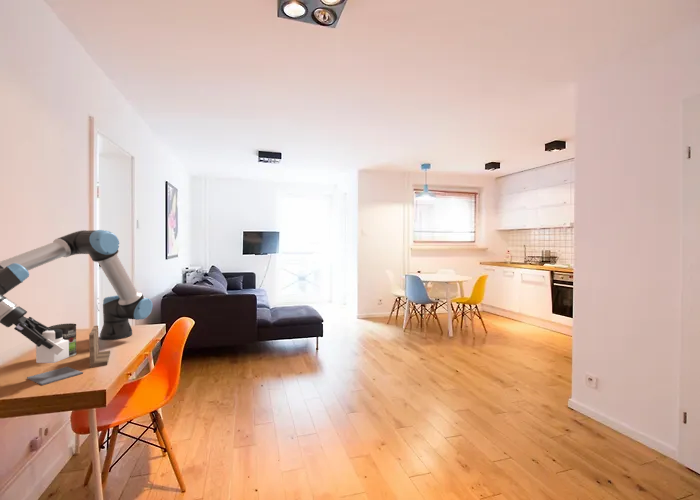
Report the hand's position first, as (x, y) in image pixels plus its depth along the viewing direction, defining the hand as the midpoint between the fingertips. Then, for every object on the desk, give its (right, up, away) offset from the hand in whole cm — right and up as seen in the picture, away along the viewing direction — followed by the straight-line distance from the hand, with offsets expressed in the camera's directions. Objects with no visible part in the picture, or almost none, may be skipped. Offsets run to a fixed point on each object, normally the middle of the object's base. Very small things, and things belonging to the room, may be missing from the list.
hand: (63, 348), depth 138 cm
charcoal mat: (-2, -11, -1) cm, 11 cm away
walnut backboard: (+2, -10, +18) cm, 21 cm away
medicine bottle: (-3, -4, -2) cm, 5 cm away
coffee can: (-20, -10, +24) cm, 33 cm away
